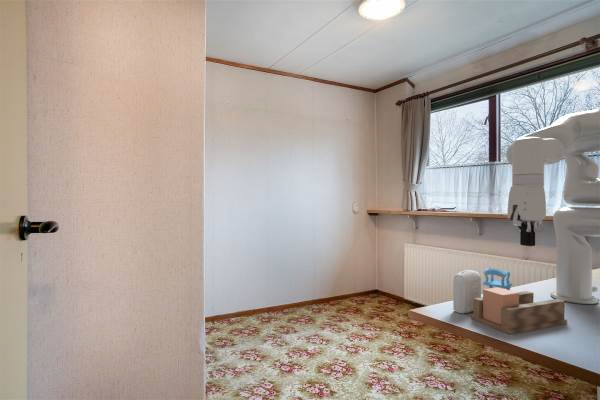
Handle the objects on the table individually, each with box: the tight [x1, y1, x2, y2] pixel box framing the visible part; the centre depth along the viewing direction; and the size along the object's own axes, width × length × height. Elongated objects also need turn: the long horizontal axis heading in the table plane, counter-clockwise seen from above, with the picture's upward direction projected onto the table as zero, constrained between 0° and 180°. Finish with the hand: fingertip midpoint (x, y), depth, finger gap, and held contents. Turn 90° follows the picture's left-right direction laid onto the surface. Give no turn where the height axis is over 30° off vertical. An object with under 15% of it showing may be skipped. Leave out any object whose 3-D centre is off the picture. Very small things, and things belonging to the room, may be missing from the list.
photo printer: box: [452, 269, 482, 314], centre depth 103 cm, size 10×4×12 cm, turn 123°
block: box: [482, 287, 519, 325], centre depth 92 cm, size 6×6×8 cm
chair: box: [482, 267, 513, 291], centre depth 109 cm, size 8×8×12 cm
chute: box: [470, 290, 568, 335], centre depth 94 cm, size 22×12×6 cm, turn 111°
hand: (527, 245), depth 96 cm, fingers closed
